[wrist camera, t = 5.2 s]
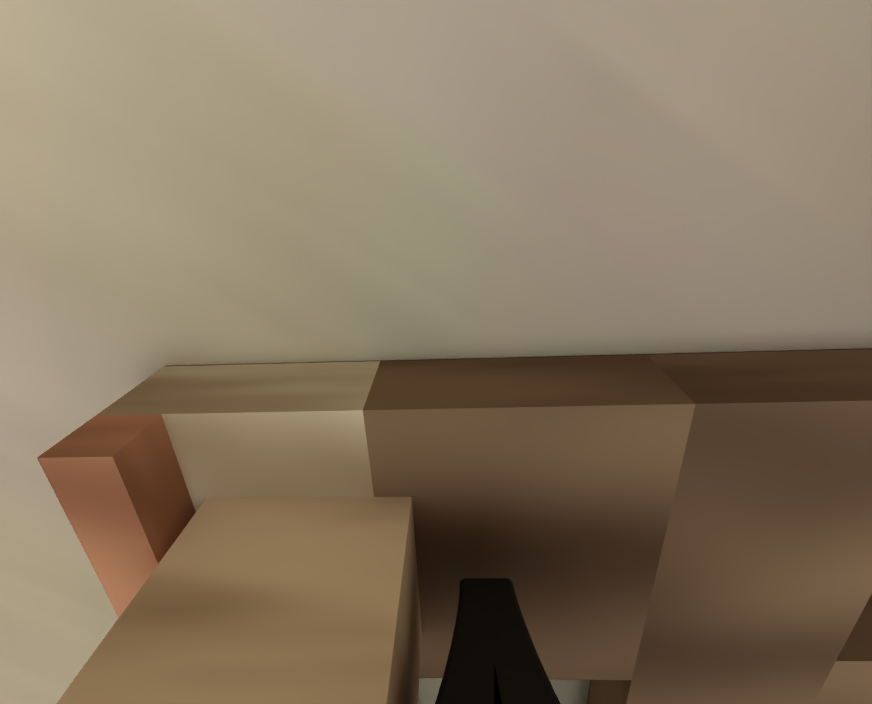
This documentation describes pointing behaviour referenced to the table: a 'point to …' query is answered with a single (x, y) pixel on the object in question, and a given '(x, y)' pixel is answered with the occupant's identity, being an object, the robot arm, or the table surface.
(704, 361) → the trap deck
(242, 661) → the beech block
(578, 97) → the table surface
